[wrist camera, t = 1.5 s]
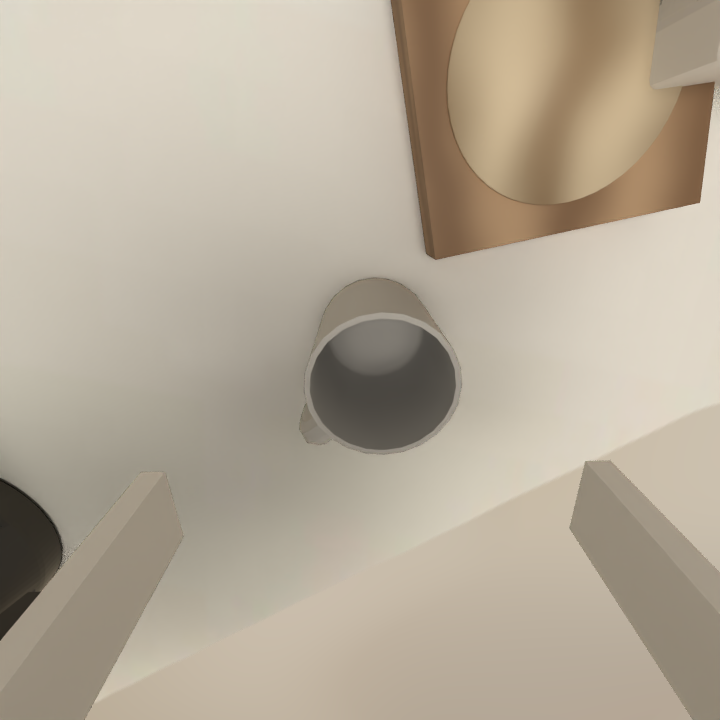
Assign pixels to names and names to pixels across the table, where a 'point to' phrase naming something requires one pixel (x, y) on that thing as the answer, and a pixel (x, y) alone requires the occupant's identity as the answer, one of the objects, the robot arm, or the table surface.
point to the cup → (378, 372)
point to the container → (686, 44)
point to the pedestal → (542, 118)
